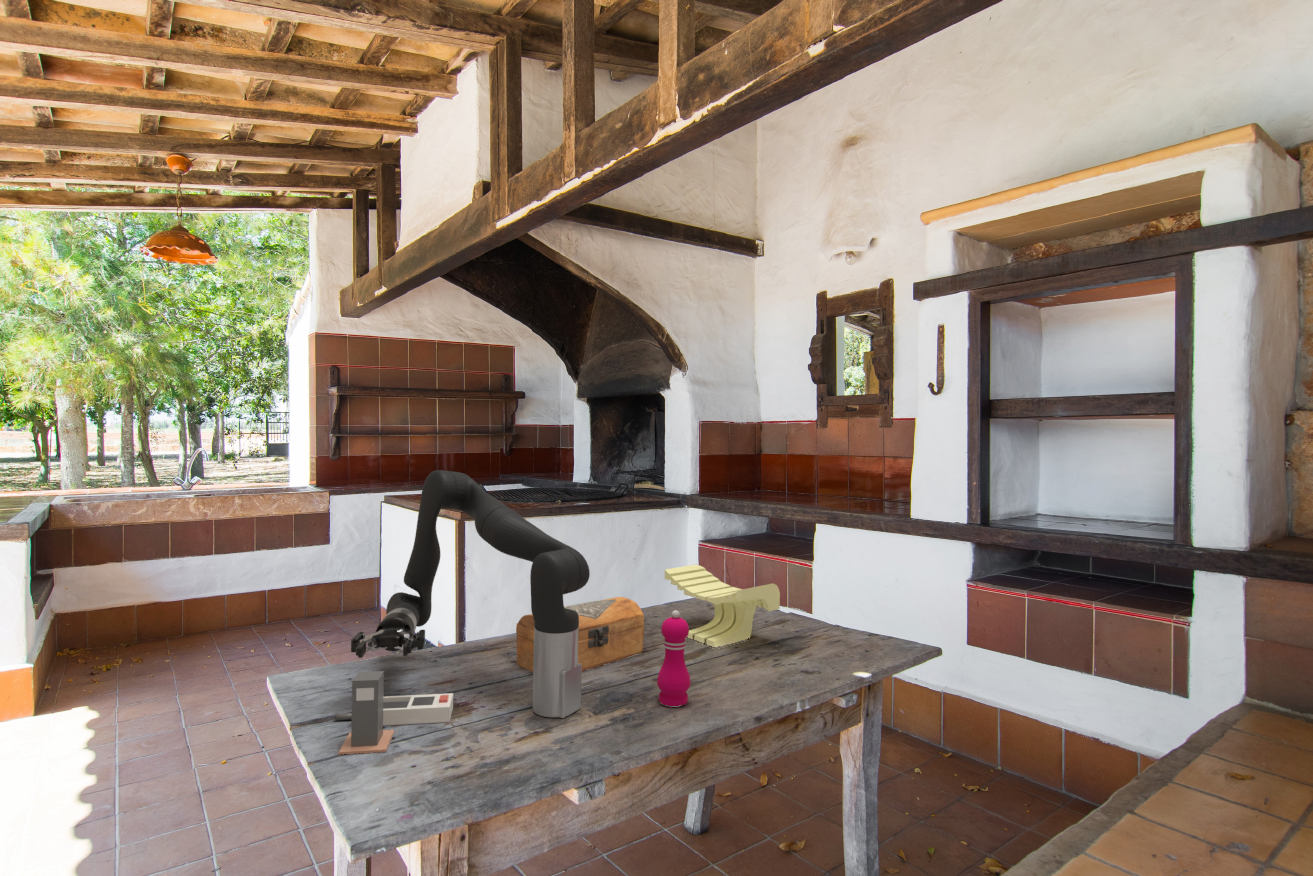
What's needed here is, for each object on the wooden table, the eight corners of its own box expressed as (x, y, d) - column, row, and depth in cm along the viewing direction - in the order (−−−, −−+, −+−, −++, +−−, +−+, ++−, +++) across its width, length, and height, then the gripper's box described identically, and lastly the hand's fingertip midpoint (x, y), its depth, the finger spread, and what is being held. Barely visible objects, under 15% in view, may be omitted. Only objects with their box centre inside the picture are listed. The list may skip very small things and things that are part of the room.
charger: (382, 734, 129) (384, 671, 129) (377, 745, 125) (378, 680, 124) (357, 735, 128) (358, 672, 128) (351, 747, 124) (352, 681, 124)
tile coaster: (394, 732, 131) (394, 729, 131) (386, 752, 123) (386, 749, 123) (349, 734, 130) (349, 732, 130) (338, 755, 122) (338, 752, 122)
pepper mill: (666, 711, 144) (668, 616, 144) (650, 698, 150) (653, 608, 150) (696, 705, 147) (698, 612, 147) (679, 693, 154) (681, 604, 153)
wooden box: (551, 683, 158) (553, 624, 158) (514, 664, 170) (515, 608, 170) (648, 656, 179) (649, 603, 178) (608, 640, 191) (609, 591, 190)
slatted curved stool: (778, 646, 189) (780, 581, 189) (739, 658, 178) (740, 589, 178) (702, 620, 212) (703, 563, 211) (663, 629, 201) (664, 569, 201)
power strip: (453, 707, 143) (453, 690, 143) (449, 722, 136) (449, 704, 136) (340, 713, 139) (340, 695, 139) (330, 728, 132) (331, 709, 132)
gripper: (363, 613, 152) (344, 635, 136) (430, 610, 155) (420, 632, 139) (363, 646, 152) (344, 672, 136) (430, 643, 155) (419, 668, 139)
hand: (382, 652), depth 138 cm, fingers open, 8 cm apart
